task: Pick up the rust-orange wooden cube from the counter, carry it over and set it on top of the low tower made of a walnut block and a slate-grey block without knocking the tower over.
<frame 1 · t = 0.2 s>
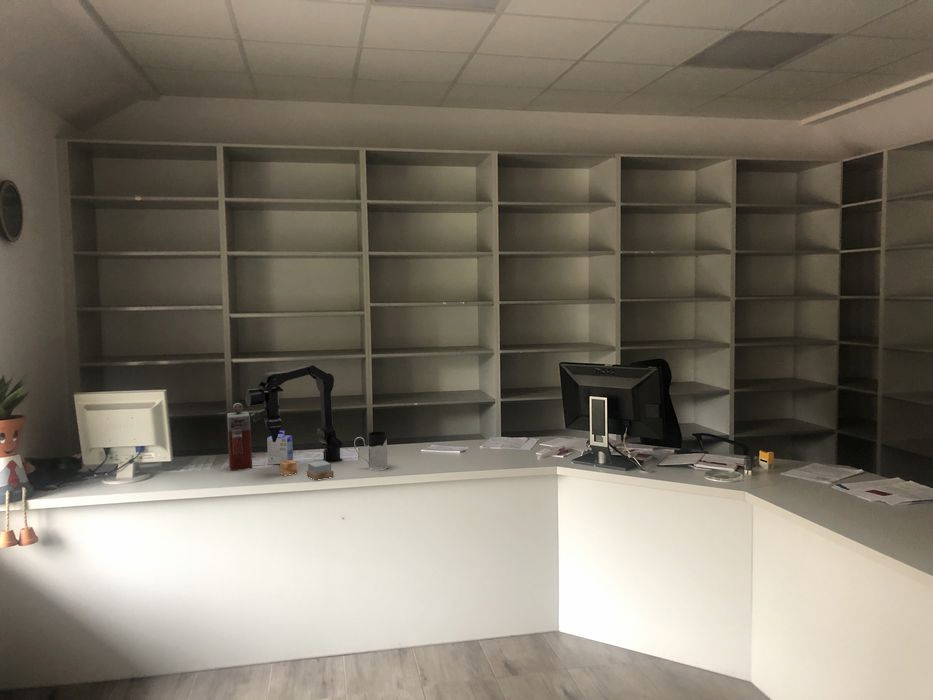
hand: (273, 439, 281), 14 cm above the table, tool pointing down, fingers open, 9 cm apart
ink cartridge box: (280, 464, 296), on the table
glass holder: (371, 468, 287), on the table
orange cube: (288, 474, 280), on the table
red and grey bottle: (240, 468, 291), on the table
tower base: (320, 477, 274), on the table
tower top: (319, 470, 274), point 3 cm above the table
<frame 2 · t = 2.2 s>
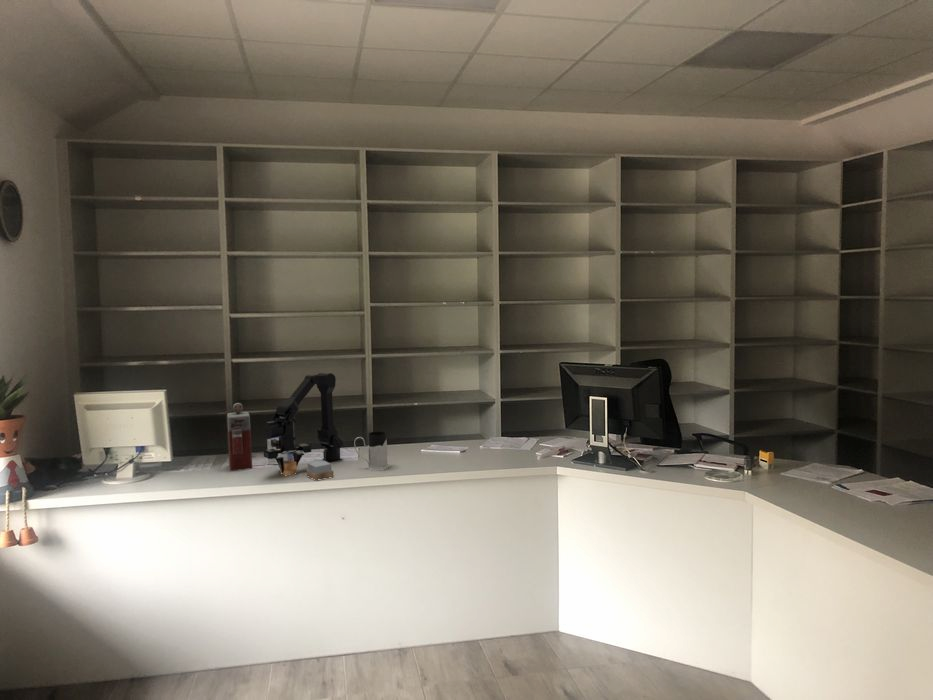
hand: (288, 471, 280), 1 cm above the table, tool pointing down, fingers closed on orange cube, 5 cm apart
orange cube: (288, 473, 280), on the table, touching gripper
everything else where it was.
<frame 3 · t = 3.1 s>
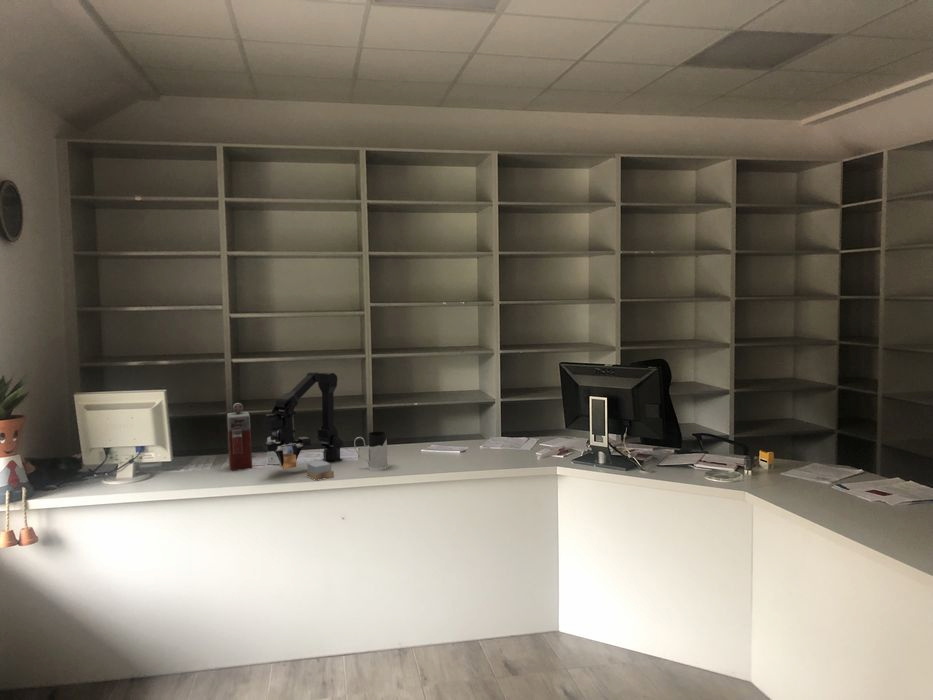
hand: (288, 464, 279), 4 cm above the table, tool pointing down, fingers closed on orange cube, 5 cm apart
orange cube: (288, 466, 279), point 3 cm above the table, touching gripper
everything else where it was.
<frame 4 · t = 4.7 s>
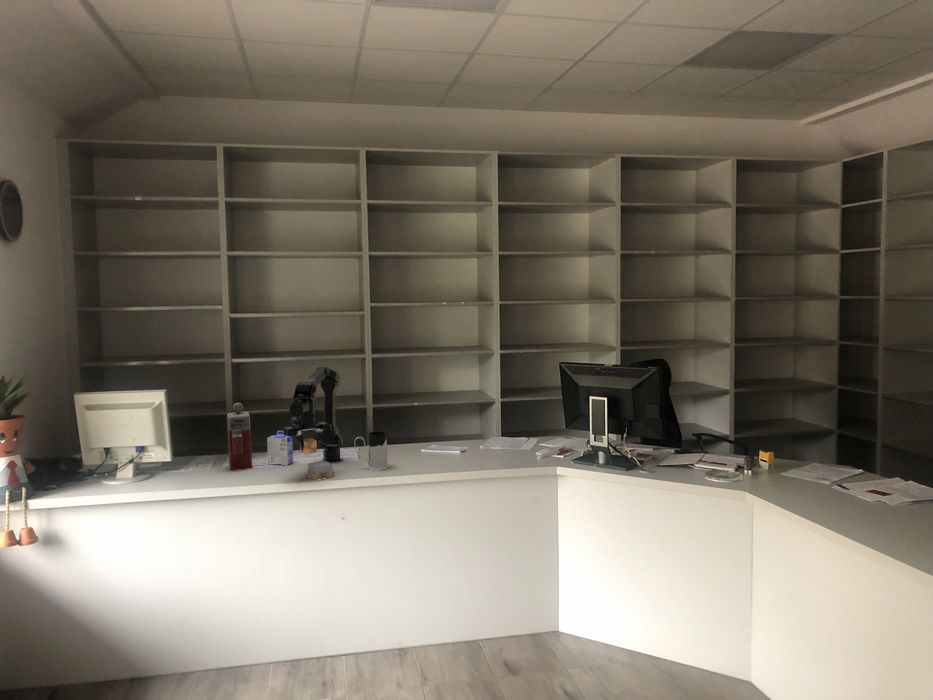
hand: (308, 449, 275), 11 cm above the table, tool pointing down, fingers closed on orange cube, 5 cm apart
orange cube: (308, 452, 275), point 10 cm above the table, touching gripper
everything else where it was.
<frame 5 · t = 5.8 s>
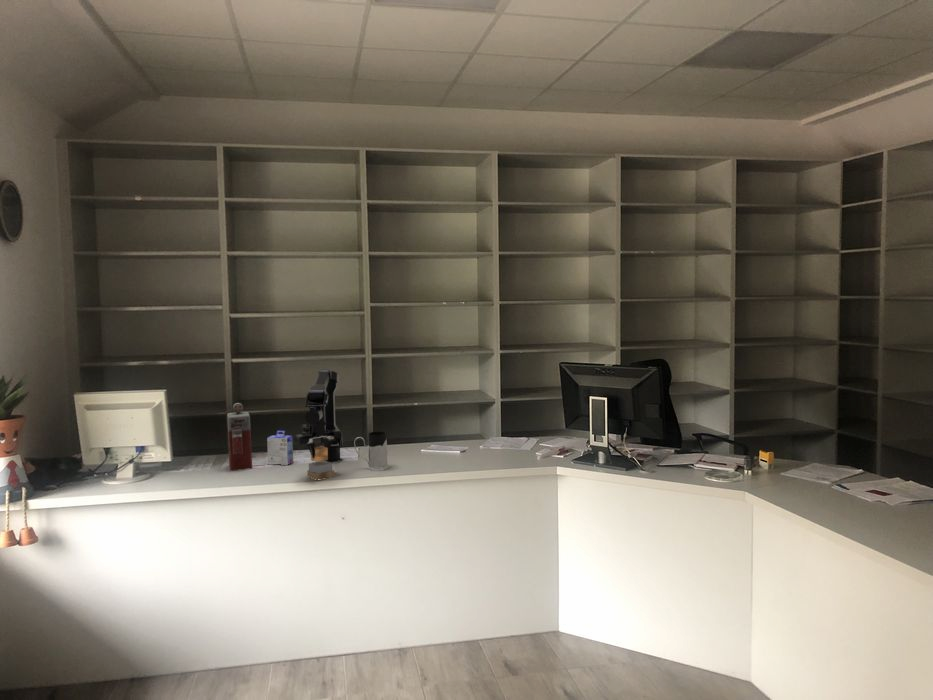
hand: (319, 457, 274), 8 cm above the table, tool pointing down, fingers closed on orange cube, 5 cm apart
orange cube: (319, 459, 274), point 7 cm above the table, touching gripper
tower base: (320, 477, 275), on the table, touching tower top
tower top: (320, 470, 274), point 3 cm above the table, touching tower base
everything else where it was.
when the fingers open (8 cm above the table, at t = 6.2 s): orange cube drops 2 cm, resting on tower top.
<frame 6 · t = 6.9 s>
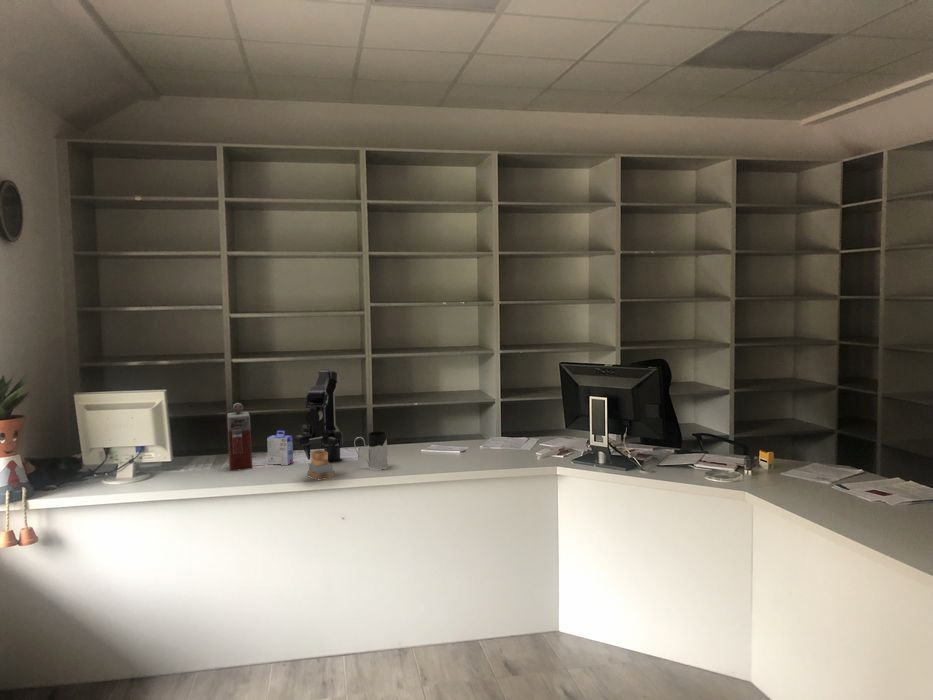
hand: (319, 457, 274), 8 cm above the table, tool pointing down, fingers open, 9 cm apart
orange cube: (319, 463, 274), point 5 cm above the table, touching tower top
tower top: (320, 470, 275), point 2 cm above the table, touching orange cube, tower base
everything else where it was.
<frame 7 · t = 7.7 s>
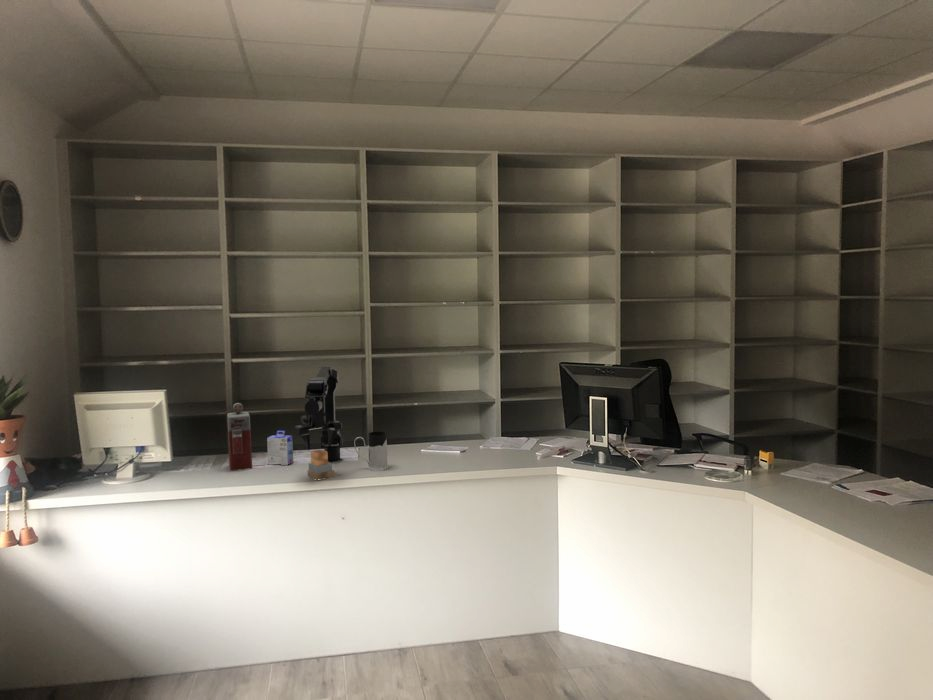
hand: (319, 448, 273), 12 cm above the table, tool pointing down, fingers open, 9 cm apart
nothing on the table moved.
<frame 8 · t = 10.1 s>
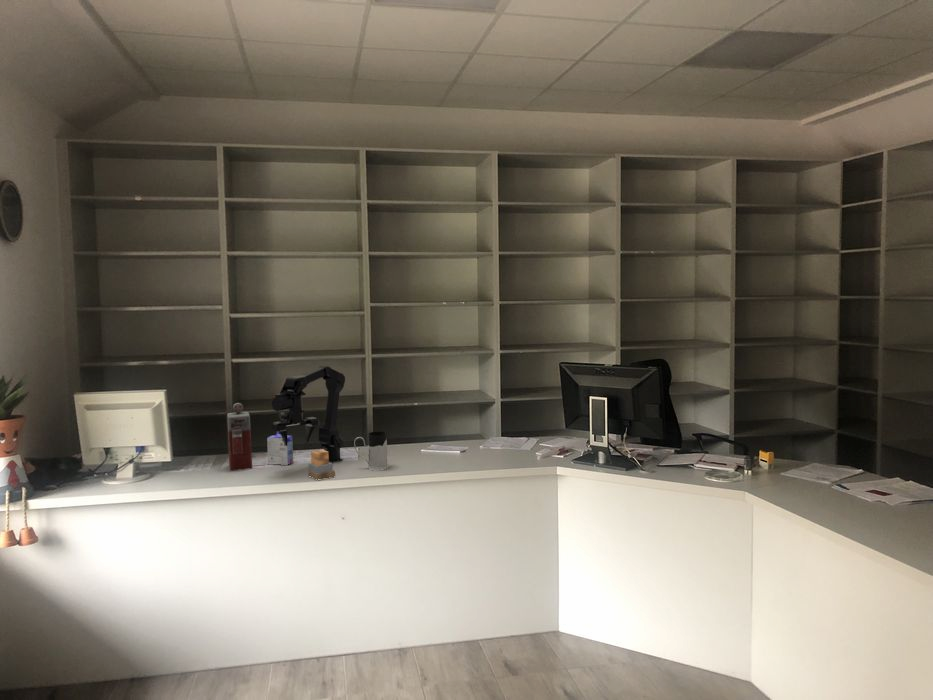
hand: (296, 444, 281), 12 cm above the table, tool pointing down, fingers open, 9 cm apart
nothing on the table moved.
at the end: orange cube 0.3 cm off-centre on the tower top, point 3.0 cm above the tower top's base; orange cube tilted 1°; tower top moved 0.8 cm from its start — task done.
